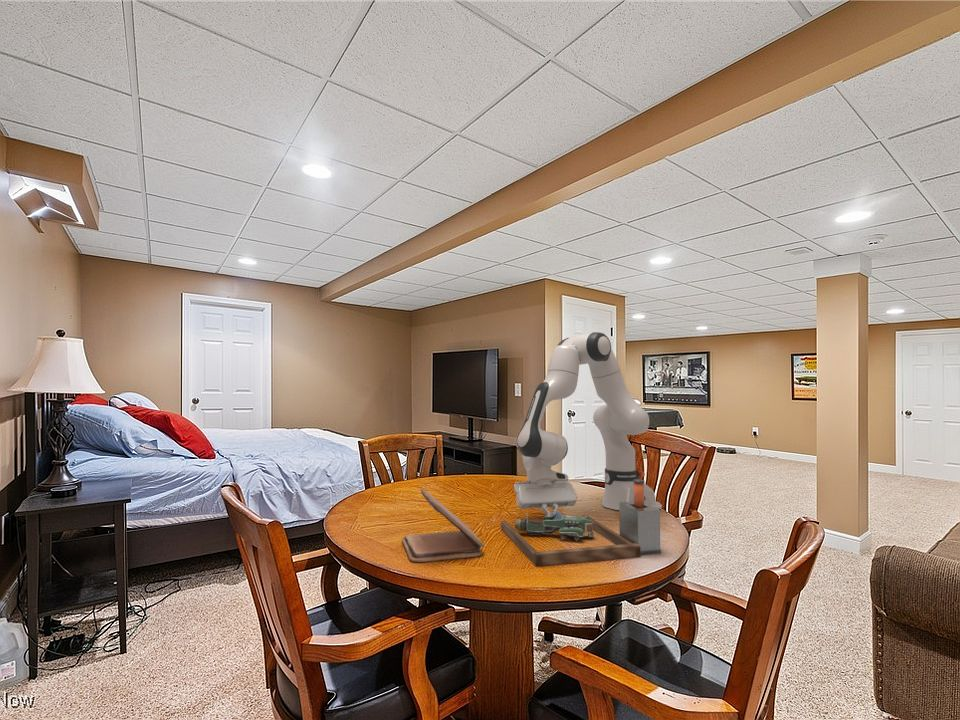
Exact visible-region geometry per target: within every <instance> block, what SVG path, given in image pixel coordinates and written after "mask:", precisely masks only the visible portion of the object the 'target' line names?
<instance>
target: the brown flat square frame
mask: <svg viewBox="0 0 960 720" xmlns="http://www.w3.org/2000/svg"><path fill="white" fill-rule="evenodd" d="M585 516H587V517H586V518H589V519H590V520H591V521H592V522H593V523H592V531H593V532H594V531H595V532H596V533H598V534H599V535H601V536H602V537H604V538H606V539H607V540H608V541H610V542H611V543H613V545H600V546H590V547H589V546H586V547H577V548H575V547H574V548H566V549H565V548H564V549H556V550H555V549H552V550H543V551H541V550H540V551H537V549H535V548H534V546H532V544H530V543H529V542H528V541H527V540H526V539H525V538H524V537H523V536H522V535H521V534H520V533H519V532H518V531H517V529H516V528H515V527H513V526H512V525H511V524H509V522H508V521H506V520H501V522H500V529H501V530H502V531H503V532H504V534H505V535H506V536H507V537H508V538H509V539H510V540H511V541H512V542H513V543H514V544H515V545H516V546H517V547H518V548H519V550H521V552H522V553H523V554H524V555H525V556H526V557H527V558H528V559H529V560H530V562H532V564H534V566H536V567H543V566H554V565H555V566H557V565H564V564H565V565H566V564H574V563H575V564H576V563H578V564H579V563H584V562H585V563H586V562H598V561H606V560H607V561H608V560H609V561H610V560H619V559H620V560H621V559H629V558H640V557H641V556H642V555H641V554H640V545H638V544H637V543H632V542H630V541H629V540H627V539H625V538H624V537H622V536H620V533H619V534H618V532H615V531H614V530H613V529H610V528H609V527H608V526H606V525H604V524H602V523H600V522H599V521H597V520H596V519H594V518H592V517H590V516H589V515H587V514H586V515H585V514H584V515H582V517H585Z"/></svg>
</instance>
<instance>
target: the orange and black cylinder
mask: <svg viewBox="0 0 960 720" xmlns="http://www.w3.org/2000/svg"><path fill="white" fill-rule="evenodd" d="M633 482H634V507H637V508H644V483H645V484H646V482H645V480H644V479H634V480H633Z"/></svg>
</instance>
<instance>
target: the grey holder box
mask: <svg viewBox="0 0 960 720" xmlns="http://www.w3.org/2000/svg"><path fill="white" fill-rule="evenodd" d="M618 511H619V514H618V515H619V516H618V517H619V524H618V525H619V535H620V536H622V537H624V538H625V539H627V540H629V541H630V542H632V543H637V544H638V545H640V554H641V556H643V555H650V554H651V555H652V554H661V553H662V549H661V509H657V508H655V507H652V506H650V505H648V504H646V503H644V508H637V507H634V502H619V510H618Z"/></svg>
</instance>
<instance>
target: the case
mask: <svg viewBox="0 0 960 720" xmlns="http://www.w3.org/2000/svg"><path fill="white" fill-rule="evenodd" d="M420 492H421V494H422V496H423V497H424V499H425V501H427V503H428V505H429V506H432V508H433V510H434V511H436V512H437V513H439V514H440V515H441V516H443V518H445V519H446V521H448V522H450V524H451V525H453V526H454V527H456V528H457V531H446V532H445V531H444V532H442V531H441V532H431V533H429V532H428V533H418V534H417V533H414V534H407V535H405V536H404V537H403V538H402V540H401V542H402V545H403V546H404V548H405V552H406V553H407V557H408V559H409V561H411V562H412V563H426V562H439V561H440V562H441V561H445V560H446V561H447V560H459V559H467V558H476V557H480V556H482V555H483V550H481V548H484V547H485V543H483V541H482V540H481V539H480V537H478V536H477V535H476V533H474V531H473V530H472V529H471V528H470V527H469V526H468V525H467V524H466V523H465V522H463V521H462V520H461V519H460V518H459V517H458V516H456V514H455V513H453V512H452V511H450V510H449V509H448V508H447V507H446V506H445V505H444V504H442V502H441V501H439V499H437V498H436V497H434V496H433V495H432V494H431V493H429V491H427V490H426V489H424V488H421V489H420Z"/></svg>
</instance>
